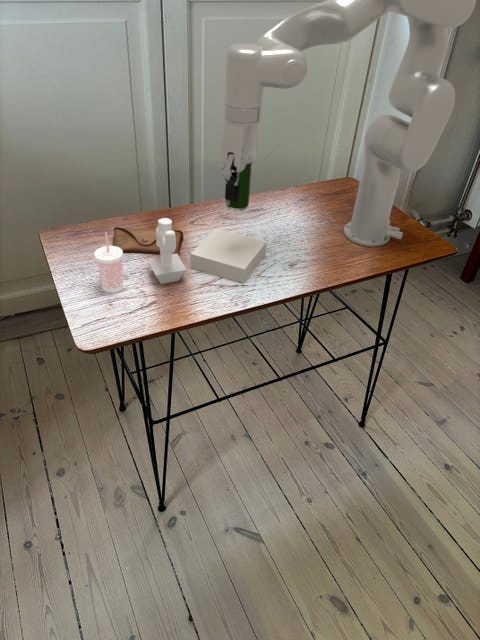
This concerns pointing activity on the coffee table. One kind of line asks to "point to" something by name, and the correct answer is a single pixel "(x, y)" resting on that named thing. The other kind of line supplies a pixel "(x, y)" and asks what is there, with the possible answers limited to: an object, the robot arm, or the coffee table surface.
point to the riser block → (228, 255)
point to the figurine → (166, 254)
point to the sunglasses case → (141, 240)
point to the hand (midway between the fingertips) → (237, 194)
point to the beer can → (242, 188)
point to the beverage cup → (110, 266)
